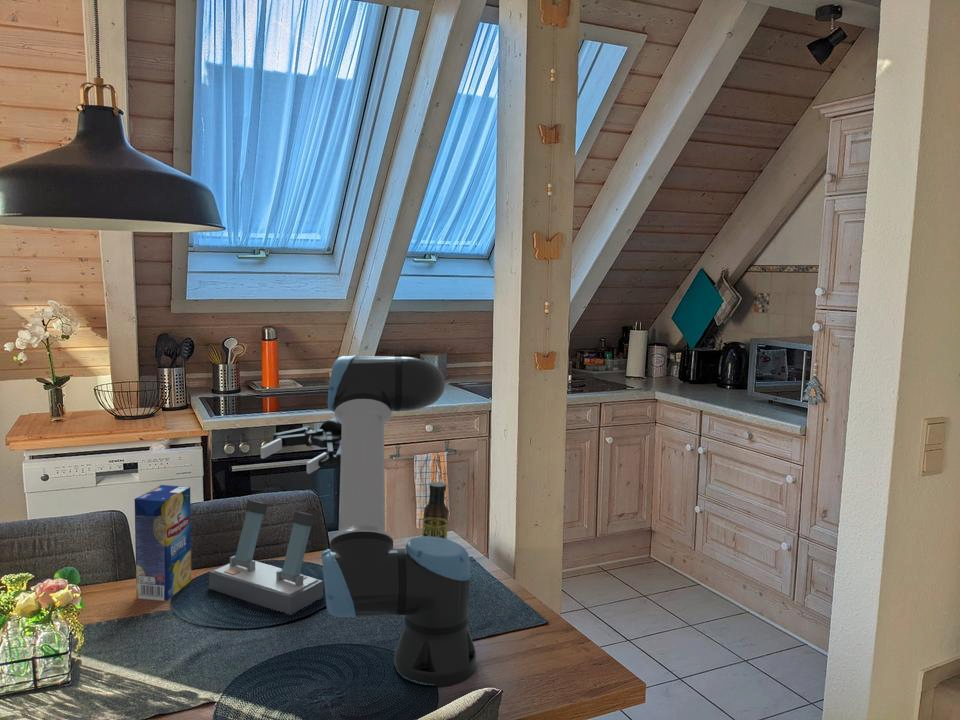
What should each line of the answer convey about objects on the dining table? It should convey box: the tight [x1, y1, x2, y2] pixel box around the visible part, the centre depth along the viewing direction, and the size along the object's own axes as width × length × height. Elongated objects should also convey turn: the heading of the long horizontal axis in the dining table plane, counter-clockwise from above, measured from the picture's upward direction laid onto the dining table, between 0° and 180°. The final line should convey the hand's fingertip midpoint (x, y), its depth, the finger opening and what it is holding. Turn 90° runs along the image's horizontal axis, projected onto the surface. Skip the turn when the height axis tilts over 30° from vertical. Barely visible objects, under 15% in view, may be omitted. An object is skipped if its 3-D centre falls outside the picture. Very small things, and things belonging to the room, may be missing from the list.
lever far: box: [234, 499, 269, 568], centre depth 173 cm, size 4×2×14 cm, turn 61°
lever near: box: [281, 511, 316, 582], centre depth 166 cm, size 4×2×14 cm, turn 61°
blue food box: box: [133, 484, 192, 602], centre depth 168 cm, size 7×11×22 cm, turn 173°
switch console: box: [208, 554, 324, 616], centre depth 169 cm, size 24×10×6 cm, turn 61°
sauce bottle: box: [421, 481, 449, 539], centre depth 190 cm, size 6×6×20 cm
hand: (284, 460), depth 177 cm, fingers open, 13 cm apart
